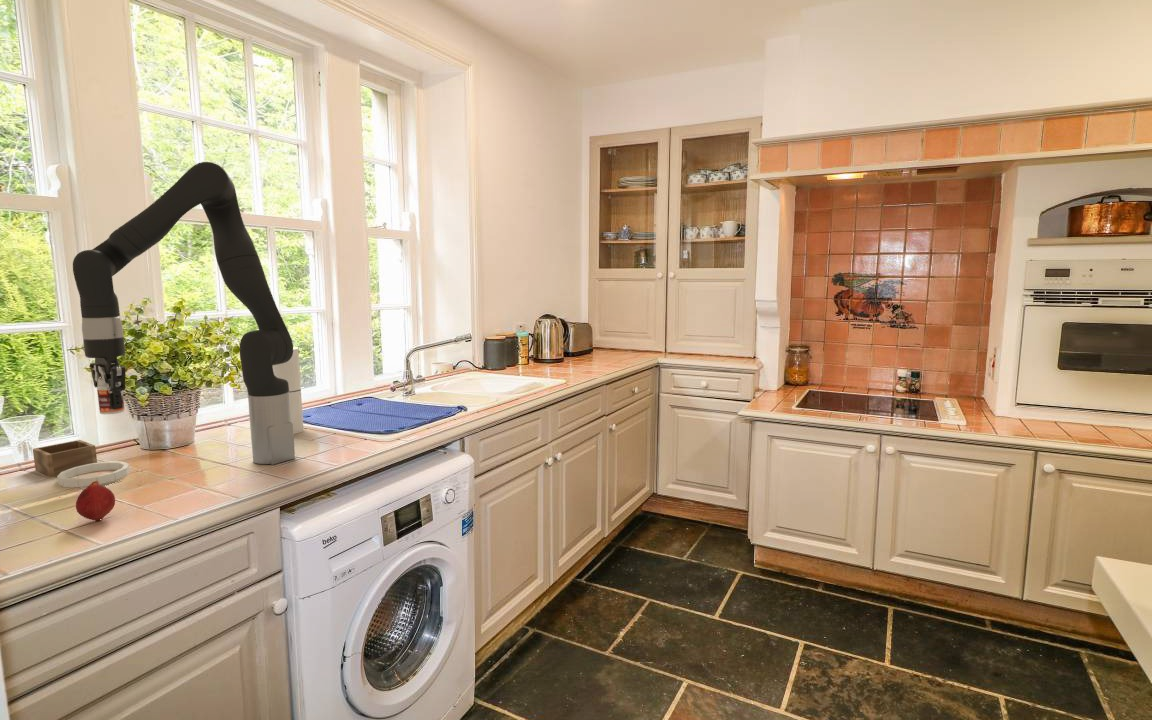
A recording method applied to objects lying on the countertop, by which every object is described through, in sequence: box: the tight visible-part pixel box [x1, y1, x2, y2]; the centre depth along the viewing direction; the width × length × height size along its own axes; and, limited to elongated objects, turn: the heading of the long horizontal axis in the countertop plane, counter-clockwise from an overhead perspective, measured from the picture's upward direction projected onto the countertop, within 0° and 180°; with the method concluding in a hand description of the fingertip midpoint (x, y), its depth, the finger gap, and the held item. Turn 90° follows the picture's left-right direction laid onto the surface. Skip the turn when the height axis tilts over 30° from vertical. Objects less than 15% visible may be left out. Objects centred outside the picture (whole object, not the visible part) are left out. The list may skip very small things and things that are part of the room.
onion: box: [75, 480, 116, 521], centre depth 113 cm, size 6×6×8 cm
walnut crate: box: [32, 439, 98, 478], centre depth 141 cm, size 9×9×6 cm
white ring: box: [56, 460, 131, 488], centre depth 135 cm, size 12×12×2 cm
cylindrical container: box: [272, 346, 304, 435], centre depth 175 cm, size 7×7×25 cm
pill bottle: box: [96, 377, 125, 415], centre depth 141 cm, size 5×5×8 cm
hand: (111, 406), depth 142 cm, fingers closed on pill bottle, 4 cm apart
